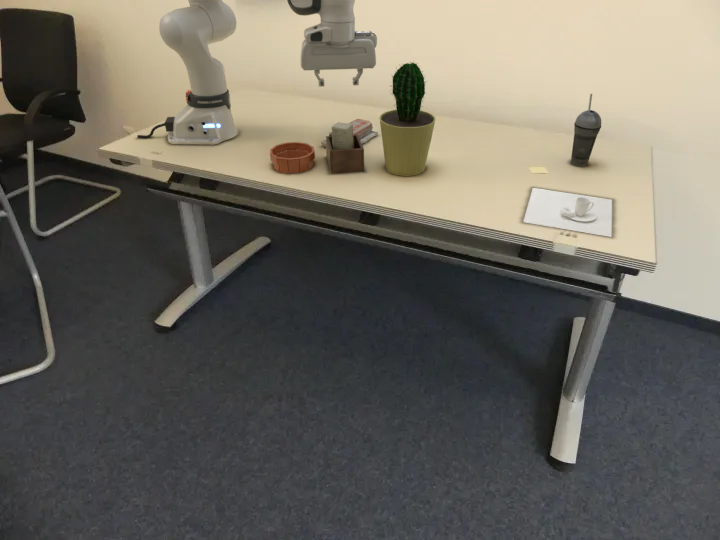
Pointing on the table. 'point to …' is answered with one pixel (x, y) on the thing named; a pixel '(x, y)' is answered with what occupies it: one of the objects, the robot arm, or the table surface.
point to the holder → (345, 157)
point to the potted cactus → (407, 124)
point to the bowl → (292, 157)
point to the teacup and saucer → (570, 212)
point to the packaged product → (360, 130)
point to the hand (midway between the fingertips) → (338, 85)
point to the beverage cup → (585, 135)
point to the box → (342, 136)
